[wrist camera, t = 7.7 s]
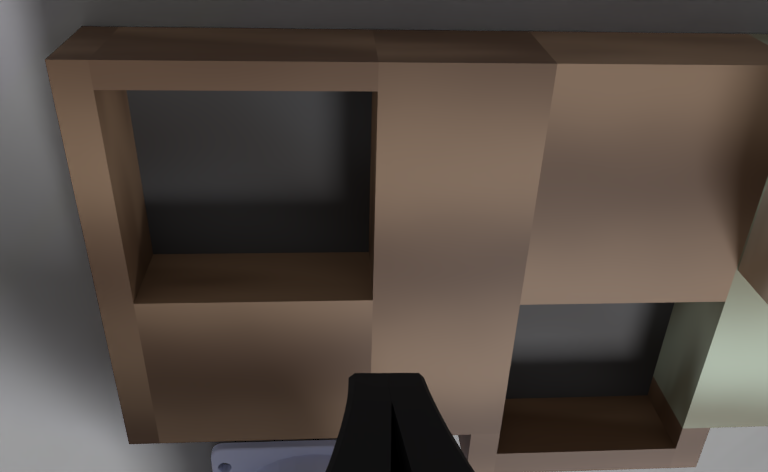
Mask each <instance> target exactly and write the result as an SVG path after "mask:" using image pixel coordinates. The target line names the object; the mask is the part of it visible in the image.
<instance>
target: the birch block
mask: <svg viewBox="0 0 768 472" xmlns="http://www.w3.org/2000/svg"><path fill="white" fill-rule="evenodd" d="M738 271H739V272H740V274H741V275H742V276H743V277H744V278H745V279H746V280H747V282H748V283H749V284H750V285H751V286H752V287H753V288H754V290H755V291H756V292H757V293H758V294H759V295H760V297H761V298H762V299H763V300H764V301H765V302H766V303H767V305H768V183H767V186H766V189H765V191H764V194H763V197H762V200H761V203H760V206H759V209H758V212H757V215H756V218H755V221H754V224H753V227H752V230H751V233H750V236H749V239H748V242H747V245H746V248H745V251H744V253H743V256H742V259H741V262H740V265H739V268H738Z"/></svg>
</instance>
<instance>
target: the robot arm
mask: <svg viewBox="0 0 768 472" xmlns="http://www.w3.org/2000/svg"><path fill="white" fill-rule="evenodd" d="M211 463H212V470H213V472H475V471H474V470H473V468H472V467H471V465H470V464H469V462H468V460H467V459H466V457H465V455H464V454H463V452H462V451H461V449H460V447H459V446H458V444H457V442H456V441H455V439H454V437H453V436H452V434H451V432H450V430H449V429H448V427H447V425H446V423H445V421H444V419H443V417H442V416H441V414H440V412H439V410H438V408H437V406H436V404H435V402H434V400H433V397H432V395H431V393H430V391H429V389H428V386H427V384H426V381H425V379H424V377H423V376H422V375H421V374H420V373H354V374H353V375H352V376H350V377H349V378H348V396H347V402H346V407H345V412H344V416H343V420H342V424H341V428H340V431H339V434H338V437H337V440H303V441H268V442H232V443H220V444H217V445H215V446H214V447H213V449H212V454H211ZM223 463H228V464H223Z"/></svg>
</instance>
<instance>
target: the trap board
mask: <svg viewBox="0 0 768 472" xmlns="http://www.w3.org/2000/svg"><path fill="white" fill-rule="evenodd" d="M45 62H46V67H47V71H48V76H49V81H50V85H51V90H52V94H53V99H54V103H55V108H56V113H57V117H58V122H59V126H60V131H61V135H62V140H63V144H64V149H65V154H66V158H67V163H68V167H69V172H70V176H71V181H72V186H73V190H74V195H75V199H76V204H77V208H78V213H79V217H80V222H81V227H82V231H83V236H84V240H85V245H86V249H87V254H88V259H89V263H90V268H91V272H92V277H93V281H94V286H95V290H96V295H97V300H98V304H99V309H100V313H101V318H102V322H103V327H104V332H105V336H106V341H107V345H108V350H109V354H110V359H111V364H112V368H113V373H114V377H115V382H116V386H117V391H118V395H119V400H120V405H121V409H122V414H123V418H124V423H125V427H126V432H127V437H128V441H129V444H149V443H185V442H221V441H256V440H292V439H327V438H337V437H338V434H339V431H340V428H341V424H342V420H343V416H344V412H345V407H346V402H347V396H348V378H349V377H350V376H352V375H353V374H354V373H420V374H421V375H422V376H423V377H424V379H425V381H426V384H427V386H428V389H429V391H430V393H431V395H432V397H433V400H434V402H435V404H436V406H437V408H438V410H439V412H440V414H441V416H442V417H443V419H444V421H445V423H446V425H447V427H448V429H449V430H450V432H451V434H452V435H458V437H459V441H460V446H461V451H462V452H463V454H464V455H465V457H466V459H467V460H468V462H469V464H470V465H471V467H472V468H473V470H474V471H475V472H556V471H587V470H619V469H650V468H681V467H696V465H697V463H698V460H699V457H700V454H701V452H702V449H703V446H704V443H705V441H706V438H707V435H708V432H709V430H710V428H719V427H755V426H768V305H767V303H766V302H765V301H764V300H763V299H762V298H761V297H760V295H759V294H758V293H757V292H756V291H755V290H754V288H753V287H752V286H751V285H750V284H749V283H748V282H747V280H746V279H745V278H744V277H743V276H742V275H741V274H740V272H739V271H738V268H739V265H740V262H741V259H742V256H743V253H744V251H745V248H746V245H747V242H748V239H749V236H750V233H751V230H752V227H753V224H754V221H755V218H756V215H757V212H758V209H759V206H760V203H761V200H762V197H763V194H764V191H765V189H766V186H767V183H768V34H727V33H637V32H547V31H457V30H367V29H277V28H187V27H97V26H82V27H81V28H80V29H79V30H77V31H76V32H75V33H74V34H73V35H72V36H71V37H70V38H69V39H67V40H66V41H65V42H64V43H63V44H62V45H61V46H60V47H58V48H57V49H56V50H55V51H54V52H53V53H52V54H51V55H50V56H48V57H47V58H46V59H45Z"/></svg>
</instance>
